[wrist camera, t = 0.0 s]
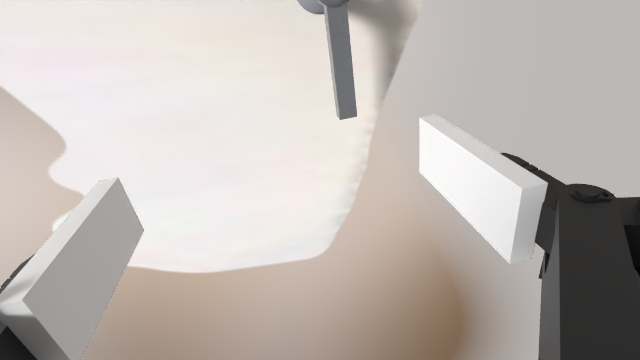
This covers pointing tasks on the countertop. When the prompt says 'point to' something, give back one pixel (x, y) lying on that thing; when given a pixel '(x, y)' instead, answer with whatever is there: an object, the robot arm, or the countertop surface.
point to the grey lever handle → (340, 56)
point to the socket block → (312, 6)
